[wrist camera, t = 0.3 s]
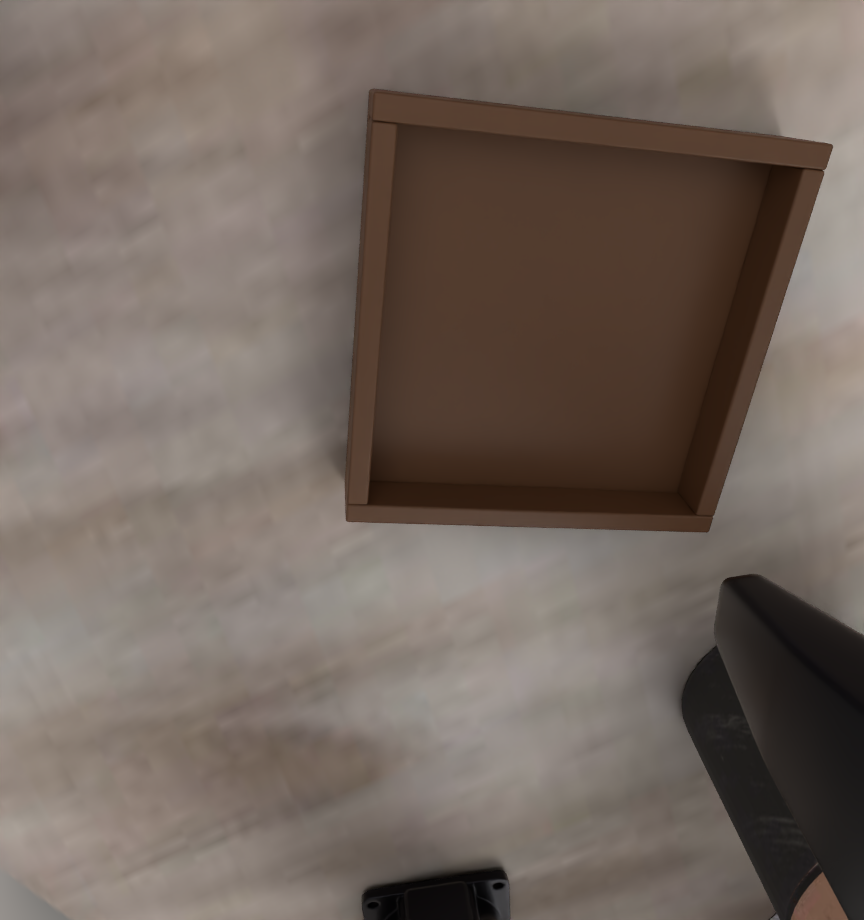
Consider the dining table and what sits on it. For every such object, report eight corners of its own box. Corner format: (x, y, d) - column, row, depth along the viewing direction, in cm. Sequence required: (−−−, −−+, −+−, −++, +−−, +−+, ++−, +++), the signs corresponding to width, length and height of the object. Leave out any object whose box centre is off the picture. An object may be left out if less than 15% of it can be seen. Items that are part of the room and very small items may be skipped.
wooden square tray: (678, 495, 25) (709, 533, 23) (344, 483, 24) (345, 522, 22) (785, 136, 20) (834, 144, 18) (369, 88, 19) (373, 91, 17)
